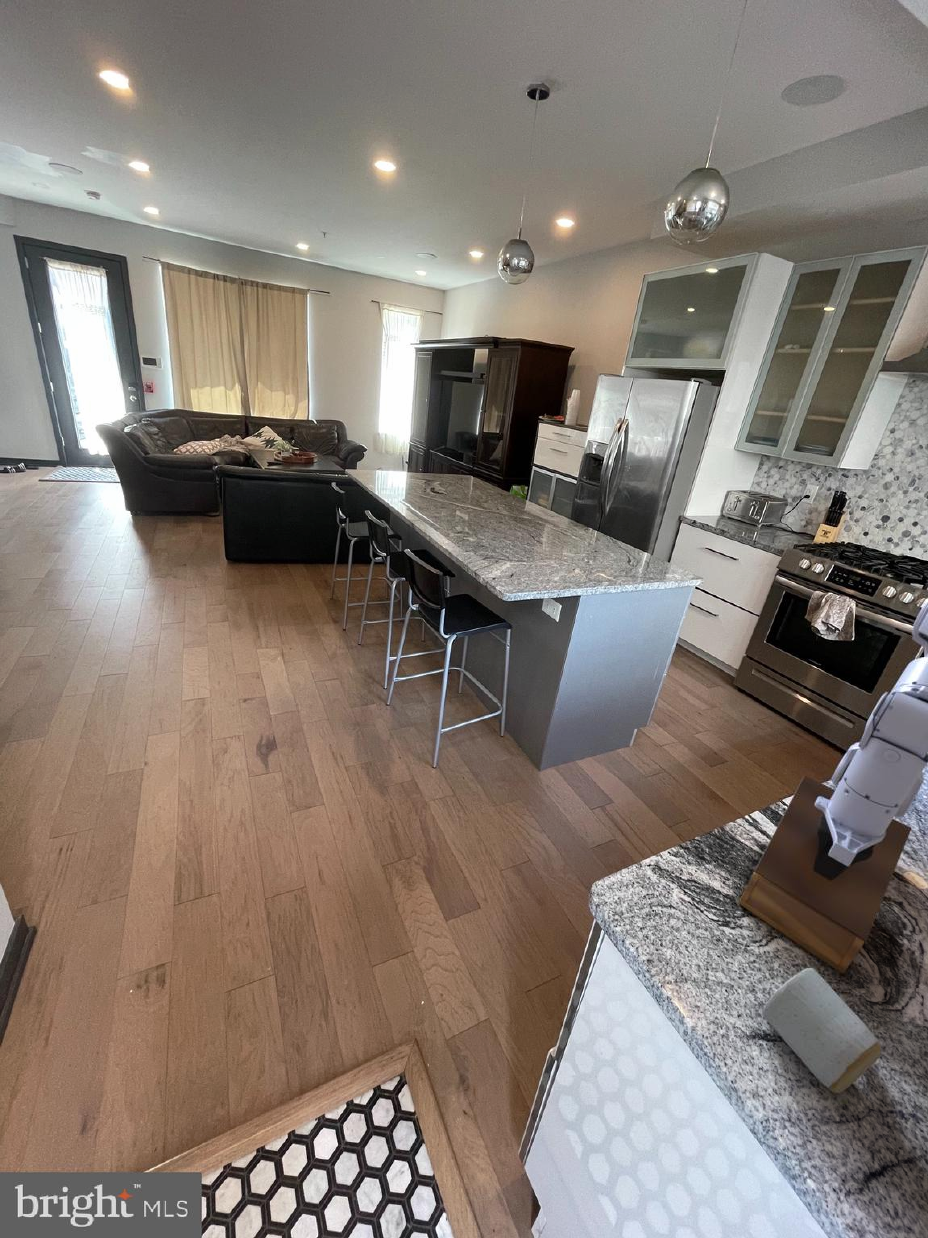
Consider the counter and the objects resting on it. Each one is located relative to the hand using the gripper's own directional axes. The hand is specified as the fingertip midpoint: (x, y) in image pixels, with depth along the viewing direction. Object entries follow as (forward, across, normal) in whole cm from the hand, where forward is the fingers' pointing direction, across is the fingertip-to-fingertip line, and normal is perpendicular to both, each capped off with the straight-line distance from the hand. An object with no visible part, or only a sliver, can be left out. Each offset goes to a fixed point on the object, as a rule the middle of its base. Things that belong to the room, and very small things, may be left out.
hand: (822, 873), depth 64 cm
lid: (0, -5, 0) cm, 5 cm away
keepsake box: (+10, -6, 0) cm, 12 cm away
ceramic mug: (+10, +14, +5) cm, 18 cm away
